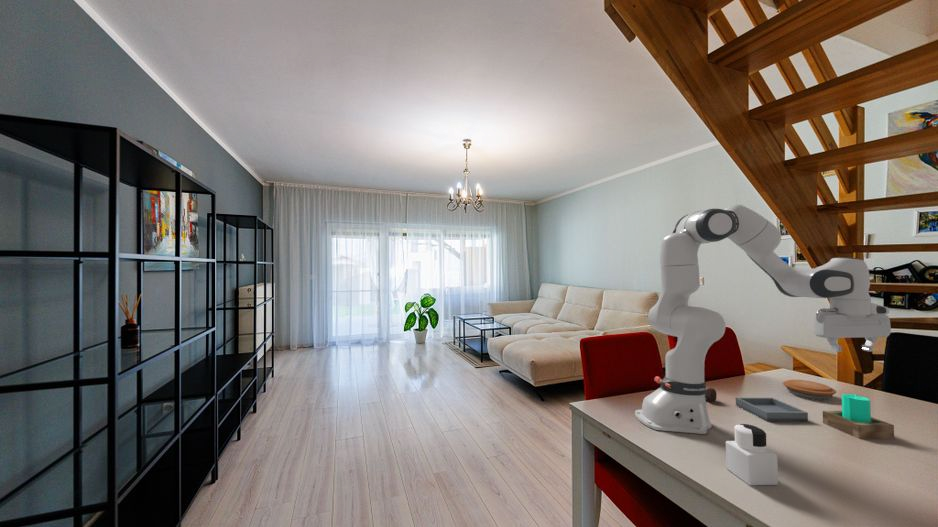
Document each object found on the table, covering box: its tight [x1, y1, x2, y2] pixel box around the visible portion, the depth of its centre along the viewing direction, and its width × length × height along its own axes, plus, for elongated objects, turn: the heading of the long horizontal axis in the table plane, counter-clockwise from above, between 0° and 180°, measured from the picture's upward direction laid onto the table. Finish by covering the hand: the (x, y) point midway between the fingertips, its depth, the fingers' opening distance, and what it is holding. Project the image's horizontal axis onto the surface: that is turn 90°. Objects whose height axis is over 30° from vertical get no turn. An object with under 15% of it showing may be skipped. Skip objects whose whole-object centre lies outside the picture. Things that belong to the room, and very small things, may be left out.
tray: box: [735, 397, 809, 423], centre depth 120 cm, size 14×14×3 cm
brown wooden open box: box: [822, 410, 895, 440], centre depth 107 cm, size 10×10×4 cm
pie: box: [782, 379, 837, 401], centre depth 138 cm, size 16×16×5 cm
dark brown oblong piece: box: [705, 387, 717, 404], centre depth 137 cm, size 6×5×15 cm
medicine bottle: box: [725, 423, 779, 486], centre depth 83 cm, size 7×7×12 cm
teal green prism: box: [841, 392, 872, 423], centre depth 107 cm, size 6×6×12 cm
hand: (852, 351), depth 108 cm, fingers open, 8 cm apart
